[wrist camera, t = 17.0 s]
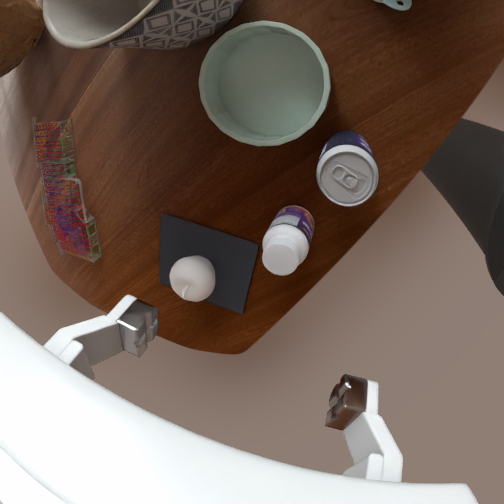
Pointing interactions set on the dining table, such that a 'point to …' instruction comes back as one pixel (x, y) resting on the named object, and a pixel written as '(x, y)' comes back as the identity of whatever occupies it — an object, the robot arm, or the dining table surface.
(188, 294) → the plain white apple
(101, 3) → the planter
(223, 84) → the fruit bowl
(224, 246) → the mat
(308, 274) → the dining table surface
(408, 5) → the pacifier
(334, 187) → the beverage can
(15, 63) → the bowl
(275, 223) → the pill bottle
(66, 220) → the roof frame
